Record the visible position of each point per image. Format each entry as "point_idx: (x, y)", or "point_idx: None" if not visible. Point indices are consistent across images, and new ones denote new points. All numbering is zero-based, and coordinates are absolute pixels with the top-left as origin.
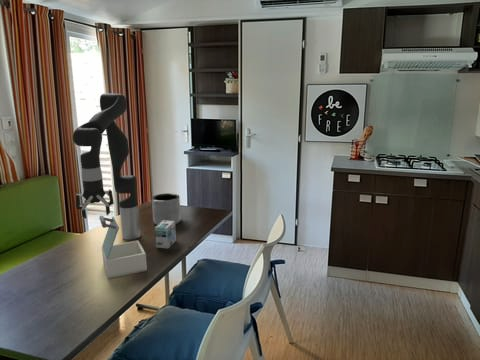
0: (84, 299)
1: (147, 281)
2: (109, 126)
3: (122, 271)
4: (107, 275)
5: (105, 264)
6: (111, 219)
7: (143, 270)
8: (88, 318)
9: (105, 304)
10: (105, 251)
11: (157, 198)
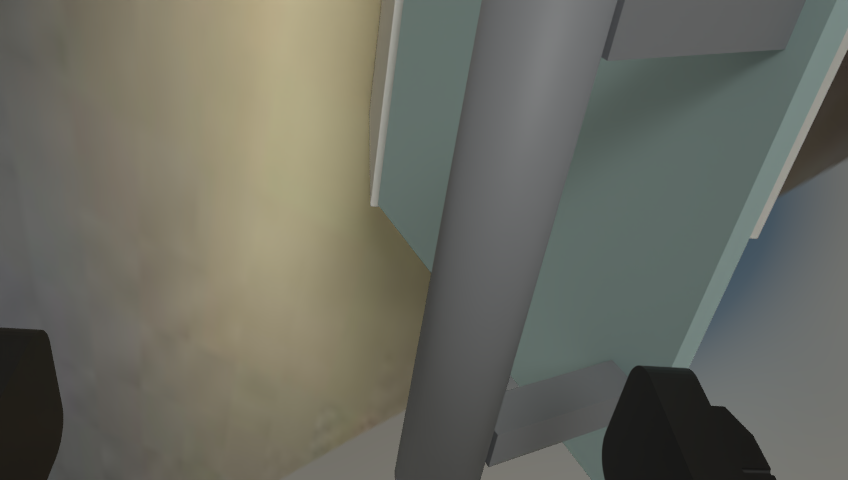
0: (167, 291)
1: None
2: None
3: None
4: (370, 119)
5: (382, 51)
6: (759, 38)
7: None
8: (183, 453)
9: (286, 390)
10: (411, 67)
11: None
